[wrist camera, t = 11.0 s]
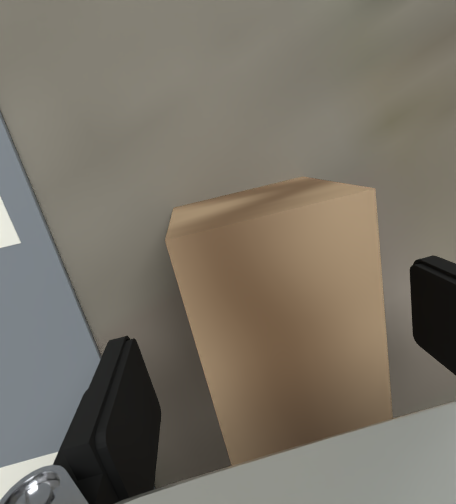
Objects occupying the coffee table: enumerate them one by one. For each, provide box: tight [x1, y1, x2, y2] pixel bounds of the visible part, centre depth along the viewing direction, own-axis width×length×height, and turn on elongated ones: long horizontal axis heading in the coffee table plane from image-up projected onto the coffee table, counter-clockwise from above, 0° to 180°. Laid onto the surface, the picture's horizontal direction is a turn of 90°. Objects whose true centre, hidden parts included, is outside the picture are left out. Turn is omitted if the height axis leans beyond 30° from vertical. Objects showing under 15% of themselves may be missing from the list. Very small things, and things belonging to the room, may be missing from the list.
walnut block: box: [165, 177, 393, 465], centre depth 11 cm, size 5×9×5 cm, turn 13°
